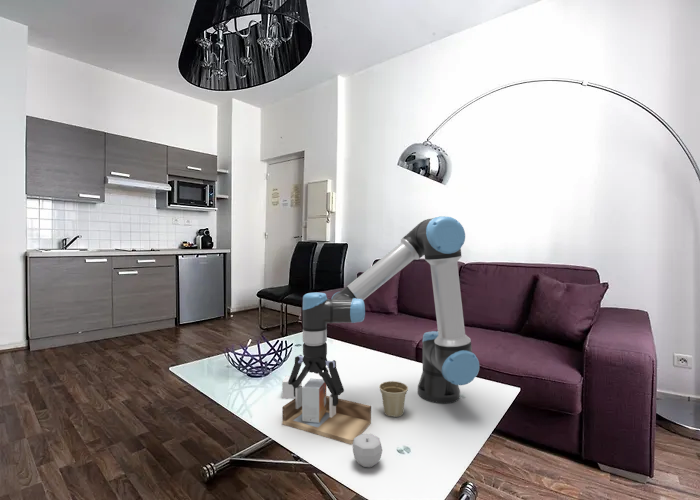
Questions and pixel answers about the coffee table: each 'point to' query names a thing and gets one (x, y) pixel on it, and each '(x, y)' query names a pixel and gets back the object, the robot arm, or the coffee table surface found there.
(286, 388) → the white cube
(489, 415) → the coffee table surface
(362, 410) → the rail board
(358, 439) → the apple
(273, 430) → the coffee table surface
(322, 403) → the small box
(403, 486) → the coffee table surface
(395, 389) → the flower pot
